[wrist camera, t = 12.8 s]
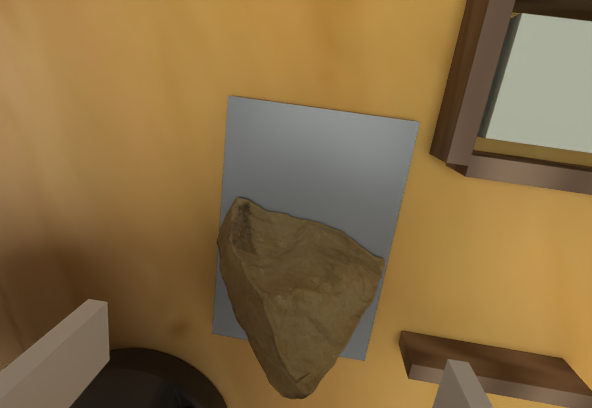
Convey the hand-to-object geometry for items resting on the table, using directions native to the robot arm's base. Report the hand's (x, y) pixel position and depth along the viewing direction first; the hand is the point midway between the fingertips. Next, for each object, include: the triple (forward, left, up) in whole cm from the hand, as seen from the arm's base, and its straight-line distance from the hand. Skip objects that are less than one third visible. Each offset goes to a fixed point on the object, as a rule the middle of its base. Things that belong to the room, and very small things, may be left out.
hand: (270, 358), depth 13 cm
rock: (0, 0, -12) cm, 12 cm away
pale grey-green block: (+14, +12, -13) cm, 22 cm away
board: (0, 0, -12) cm, 12 cm away
